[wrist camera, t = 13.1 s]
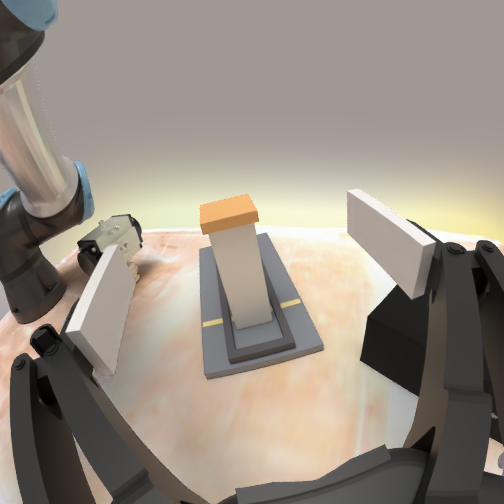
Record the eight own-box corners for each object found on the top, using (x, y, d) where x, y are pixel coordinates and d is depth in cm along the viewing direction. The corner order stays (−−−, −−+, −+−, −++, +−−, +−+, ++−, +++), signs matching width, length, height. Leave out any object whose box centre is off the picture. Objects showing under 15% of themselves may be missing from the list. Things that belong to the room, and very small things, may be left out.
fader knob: (276, 322, 29) (257, 210, 22) (233, 333, 28) (200, 224, 22) (267, 295, 33) (247, 193, 26) (229, 305, 33) (200, 205, 26)
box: (359, 362, 24) (367, 316, 20) (418, 291, 30) (427, 246, 26) (536, 464, 5) (581, 432, 2) (561, 363, 11) (588, 323, 8)
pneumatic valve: (99, 303, 39) (67, 240, 33) (138, 264, 48) (115, 206, 42) (120, 308, 37) (86, 240, 31) (160, 265, 46) (137, 203, 40)
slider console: (323, 349, 26) (323, 337, 25) (207, 379, 25) (201, 368, 24) (267, 237, 48) (265, 227, 47) (200, 253, 47) (197, 244, 46)
